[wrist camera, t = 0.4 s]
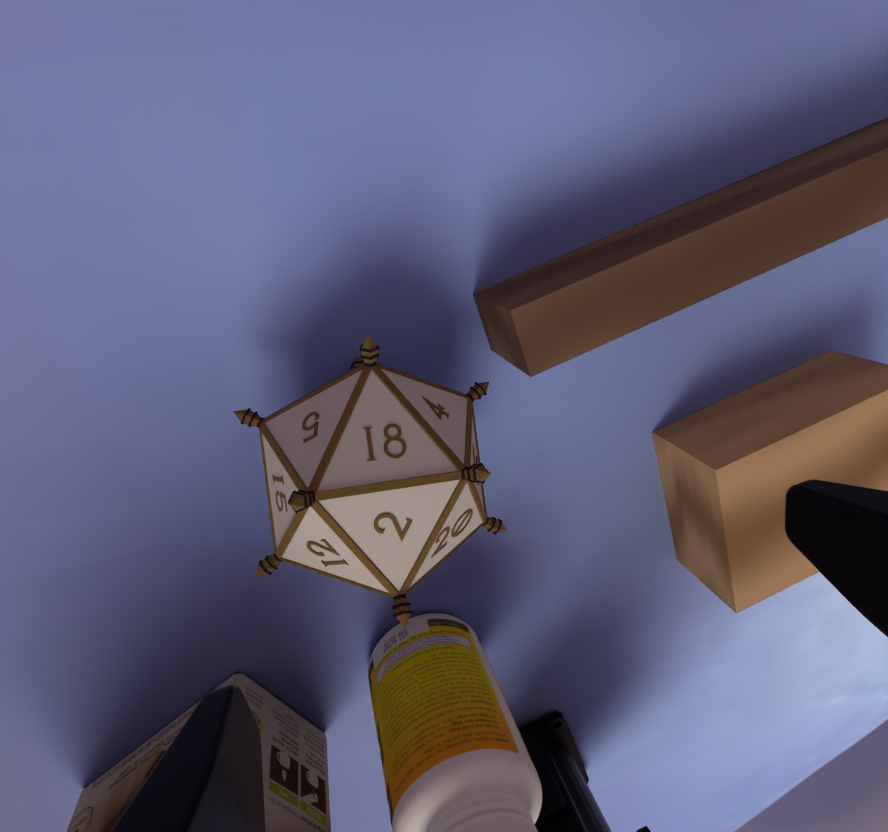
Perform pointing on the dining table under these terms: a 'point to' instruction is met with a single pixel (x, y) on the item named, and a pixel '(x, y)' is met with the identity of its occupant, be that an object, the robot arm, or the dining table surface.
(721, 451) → the oak block
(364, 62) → the dining table surface
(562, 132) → the dining table surface
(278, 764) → the coffee box
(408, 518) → the game die
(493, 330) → the walnut board
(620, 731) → the dining table surface
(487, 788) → the supplement bottle
